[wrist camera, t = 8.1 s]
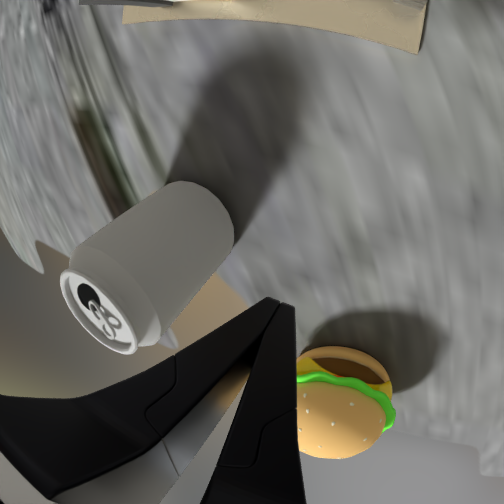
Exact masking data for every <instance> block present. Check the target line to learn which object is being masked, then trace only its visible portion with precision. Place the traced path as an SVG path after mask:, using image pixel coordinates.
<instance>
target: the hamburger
mask: <svg viewBox="0 0 504 504" xmlns="http://www.w3.org/2000/svg"><path fill="white" fill-rule="evenodd" d="M391 399H392V383H391V381H390V379H389V376H388V374H387V372H386V370H385V369H384V367H383V366H382V365H381V364H380V363H379V362H378V361H377V360H376V359H374V358H373V357H371V356H370V355H368V354H366V353H364V352H361V351H358V350H356V349H352V348H347V347H340V346H327V347H319V348H315V349H312V350H310V351H307V352H305V353H304V354H302V355H301V356H299V357H298V358H297V408H296V409H297V425H298V444H299V450H300V451H302V452H304V453H306V454H309V455H311V456H315V457H319V458H334V459H342V458H347V457H351V456H354V455H356V454H358V453H360V452H363V451H365V450H367V449H368V448H370V447H371V446H372V445H373V444H374V442H375V441H376V440H377V439H378V438H379V437H380V435H381V434H382V433H383V432H384V431H385V430H386V429H388V428H390V427H392V426H393V423H394V421H395V416H396V411H395V409H394V408H393V406H392V404H391Z"/></svg>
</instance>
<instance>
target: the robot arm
mask: <svg viewBox="0 0 504 504" xmlns="http://www.w3.org/2000/svg"><path fill="white" fill-rule="evenodd" d="M247 379H248V380H247ZM246 381H247V383H246V385H245V388H244V391H243V394H242V397H241V400H240V402H239V405H238V408H237V411H236V413H235V416H234V419H233V422H232V424H231V427H230V430H229V433H228V435H227V438H226V441H225V443H224V446H223V449H222V451H221V454H220V457H219V459H218V462H217V464H216V467H215V470H214V472H213V475H212V477H211V480H210V482H209V484H208V487H207V489H206V491H205V493H204V496H203V498H202V500H201V502H200V504H307V503H306V498H305V490H304V483H303V476H302V469H301V462H300V454H299V444H298V425H297V409H296V408H297V358H296V322H295V307H294V306H292V305H289V304H286V303H284V302H282V303H281V304H280V301H279V300H276V299H273V298H271V297H266V298H264V299H263V300H261V301H259V302H258V303H256V304H255V305H253V306H252V307H250V308H249V309H247V310H245V311H244V312H242V313H241V314H239V315H238V316H236V317H234V318H233V319H231V320H230V321H228V322H227V323H225V324H223V325H222V326H220V327H219V328H217V329H215V330H214V331H212V332H211V333H209V334H207V335H206V336H204V337H202V338H201V339H199V340H197V341H196V342H194V343H193V344H191V345H189V346H188V347H186V348H184V349H183V350H181V351H179V352H178V353H176V354H175V356H174V355H172V356H171V357H169V358H167V359H166V360H164V361H162V362H160V363H159V364H157V365H155V366H153V367H151V368H149V369H148V370H146V371H144V372H141V373H139V374H137V375H135V376H132V377H130V378H128V379H126V380H123V381H121V382H118V383H116V384H114V385H111V386H109V387H106V388H104V389H101V390H99V391H96V392H94V393H91V394H88V395H85V396H81V397H76V398H67V399H60V398H58V399H56V398H31V397H14V396H6V395H1V394H0V504H159V503H160V502H161V500H162V499H163V498H164V497H165V495H166V494H167V493H168V491H169V490H170V488H171V487H172V486H173V485H174V484H175V482H176V481H177V480H178V478H179V476H180V475H181V474H182V473H183V471H184V470H185V469H186V467H187V466H188V465H189V463H190V462H191V461H192V459H193V458H194V456H195V455H196V454H197V452H198V451H199V449H200V448H201V447H202V445H203V444H204V442H205V441H206V440H207V438H208V437H209V435H210V434H211V433H212V431H213V430H214V428H215V427H216V425H217V424H218V422H219V421H220V420H221V418H222V417H223V415H224V414H225V412H226V411H227V409H228V408H229V406H230V405H231V404H232V402H233V400H234V399H235V398H236V396H237V395H238V393H239V392H240V390H241V388H242V387H243V385H244V384H245V382H246Z"/></svg>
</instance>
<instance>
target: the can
mask: <svg viewBox="0 0 504 504" xmlns="http://www.w3.org/2000/svg"><path fill="white" fill-rule="evenodd" d="M233 244H234V227H233V224H232V221H231V219H230V216H229V213H228V212H227V210H226V209H225V207H224V206H223V204H222V203H221V201H220V200H219V199H218V198H217V197H216V196H215V195H213V194H212V193H211V192H210V191H209V190H208V189H206V188H204V187H202V186H200V185H198V184H196V183H194V182H187V181H177V182H173V183H169V184H167V185H166V186H164V187H163V188H161V189H159V190H158V191H156V192H155V193H153V194H152V195H150V196H149V197H147V198H146V199H144V200H142V201H141V202H139V203H138V204H136V205H135V206H133V207H132V208H131V209H129V210H128V211H126V212H125V213H123V214H122V215H120V216H119V217H117V218H116V219H115V220H113V221H112V222H110V223H109V224H107V225H106V226H105V227H103V228H102V229H100V230H99V231H98V232H96V233H95V234H94V235H92V236H91V237H89V238H88V239H87V240H85V241H84V242H83V243H81V244H80V245H79V246H77V247H76V248H75V249H74V251H73V252H72V253H71V257H70V263H69V269H66V270H65V271H64V272H63V273H62V274H61V278H60V285H61V290H62V294H63V296H64V298H65V300H66V303H67V305H68V306H69V308H70V309H71V311H72V313H73V314H74V316H75V317H76V318H77V320H78V321H79V322H80V323H81V325H82V326H83V327H84V328H85V329H86V330H87V331H88V332H89V333H90V334H91V335H92V336H93V337H94V338H96V339H97V340H98V341H99V342H101V343H102V344H103V345H105V346H107V347H108V348H110V349H112V350H113V351H116V352H119V353H122V354H133V353H134V352H135V351H136V350H137V348H138V346H148V345H154V344H155V343H156V342H157V341H158V340H159V339H160V338H161V337H162V335H163V334H164V333H165V332H166V330H167V329H168V328H169V327H170V325H171V324H172V323H173V322H174V321H175V319H176V318H177V317H178V316H179V314H180V313H181V312H182V311H183V310H184V308H185V307H186V306H187V305H188V303H189V302H190V301H191V300H192V299H193V297H194V296H195V295H196V294H197V292H198V291H199V290H200V289H201V288H202V286H203V285H204V284H205V283H206V282H207V280H208V279H209V278H210V277H211V276H212V274H213V273H214V272H215V271H216V270H217V268H218V267H219V266H220V265H221V264H222V262H223V261H224V260H225V259H226V257H227V256H228V255H229V254H230V253H231V250H232V247H233Z"/></svg>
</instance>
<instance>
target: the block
mask: <svg viewBox="0 0 504 504" xmlns="http://www.w3.org/2000/svg"><path fill="white" fill-rule="evenodd" d="M79 5H130V6H144V7H163V6H173V2H172V1H166V0H79Z"/></svg>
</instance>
